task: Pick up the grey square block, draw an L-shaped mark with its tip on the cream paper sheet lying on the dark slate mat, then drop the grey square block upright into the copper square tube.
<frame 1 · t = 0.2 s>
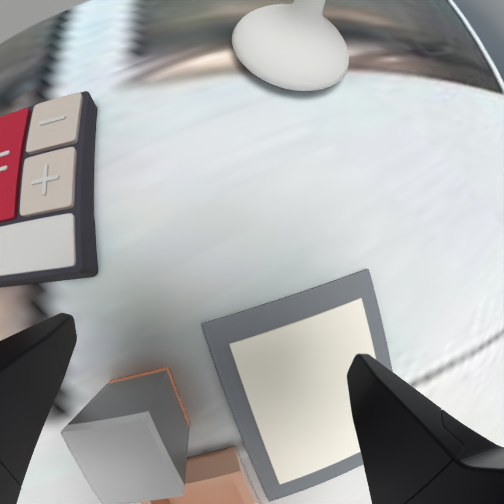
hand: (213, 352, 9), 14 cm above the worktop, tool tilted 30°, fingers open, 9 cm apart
writing mat: (318, 397, 24), on the worktop
flower in vase: (293, 52, 27), on the worktop
copper square tube: (204, 492, 21), on the worktop
grey square block: (149, 402, 22), on the worktop
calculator: (41, 195, 23), on the worktop
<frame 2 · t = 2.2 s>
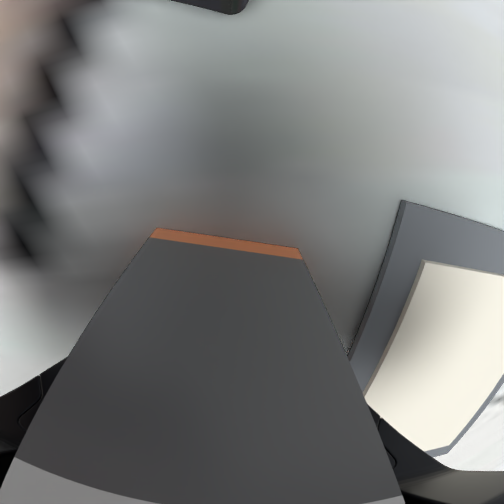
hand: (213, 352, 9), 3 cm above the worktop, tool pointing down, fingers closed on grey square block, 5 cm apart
writing mat: (441, 380, 15), on the worktop
grey square block: (218, 300, 12), on the worktop, touching gripper
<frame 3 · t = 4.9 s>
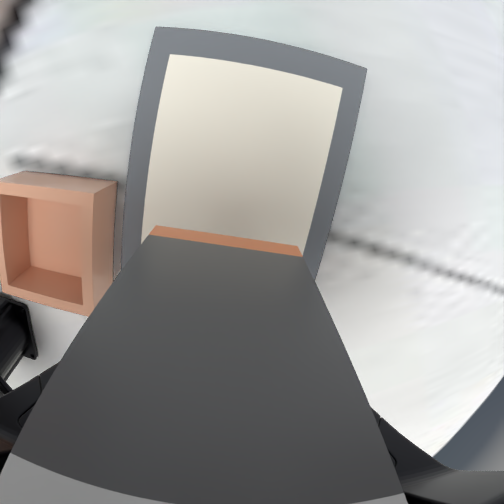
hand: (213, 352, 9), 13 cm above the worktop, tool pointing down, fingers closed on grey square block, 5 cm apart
writing mat: (235, 171, 20), on the worktop
copper square tube: (64, 230, 21), on the worktop
grey square block: (217, 298, 12), point 10 cm above the worktop, touching gripper
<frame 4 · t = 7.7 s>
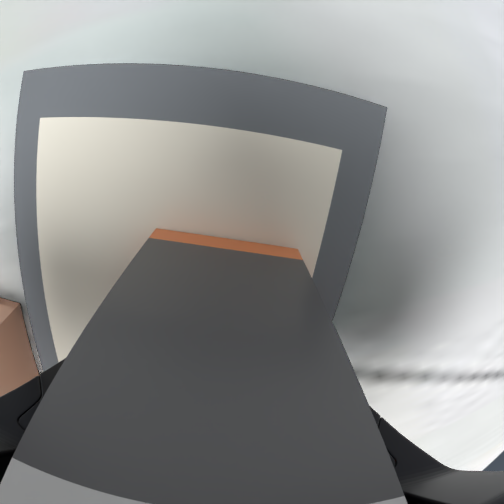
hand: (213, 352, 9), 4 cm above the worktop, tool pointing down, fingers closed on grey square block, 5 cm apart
writing mat: (164, 300, 13), on the worktop
grey square block: (217, 301, 12), point 1 cm above the worktop, touching gripper
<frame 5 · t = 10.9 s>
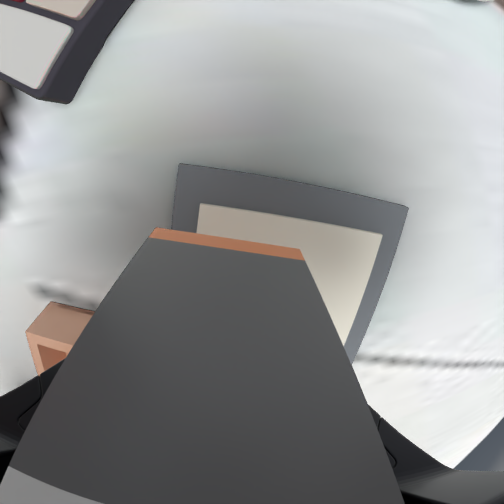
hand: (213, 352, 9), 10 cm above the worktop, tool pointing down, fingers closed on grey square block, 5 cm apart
writing mat: (272, 317, 21), on the worktop
copper square tube: (104, 356, 22), on the worktop
grey square block: (218, 301, 12), point 7 cm above the worktop, touching gripper
when the fingers open (8 cm above the worktop, at t = 13.5 s): grey square block drops 4 cm, resting on copper square tube.
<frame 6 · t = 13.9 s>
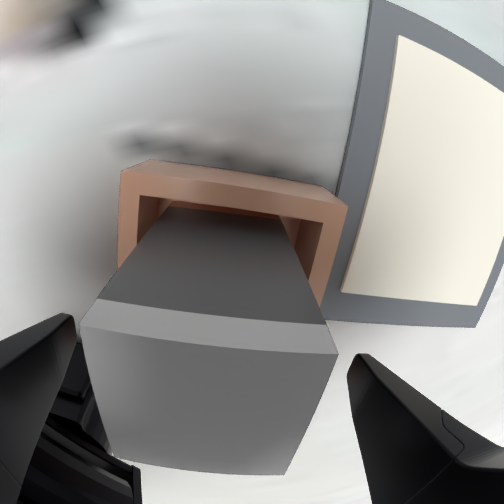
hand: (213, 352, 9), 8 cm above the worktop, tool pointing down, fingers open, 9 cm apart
writing mat: (451, 186, 15), on the worktop
copper square tube: (223, 252, 16), on the worktop
grey square block: (219, 256, 16), point 1 cm above the worktop, touching copper square tube
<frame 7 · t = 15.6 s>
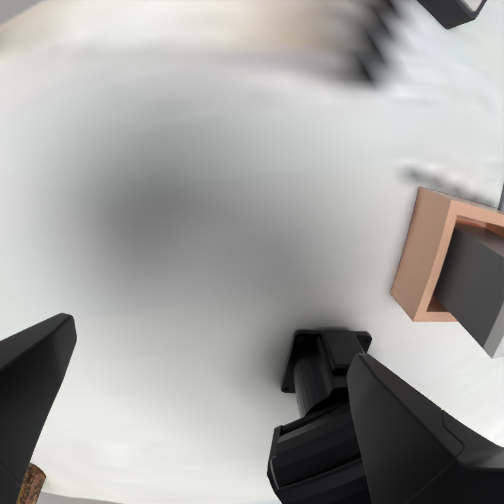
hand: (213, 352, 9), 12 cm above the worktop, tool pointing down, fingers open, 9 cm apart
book: (9, 457, 34), on the worktop
copper square tube: (447, 248, 21), on the worktop
grey square block: (448, 250, 21), resting on copper square tube
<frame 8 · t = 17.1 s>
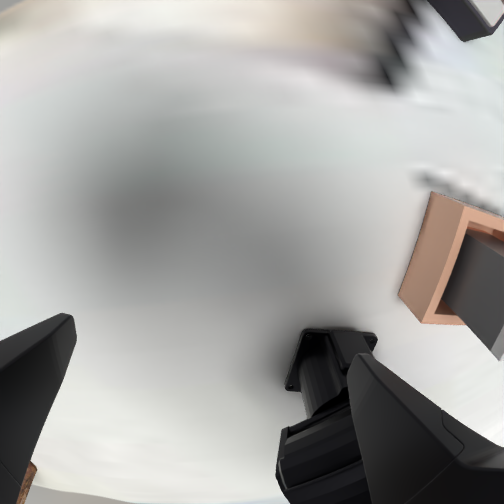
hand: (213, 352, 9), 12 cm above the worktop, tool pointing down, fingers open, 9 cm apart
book: (0, 448, 33), on the worktop
copper square tube: (454, 253, 22), on the worktop
grey square block: (456, 255, 21), resting on copper square tube
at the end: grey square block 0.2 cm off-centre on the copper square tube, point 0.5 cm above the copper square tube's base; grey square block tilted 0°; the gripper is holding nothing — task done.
